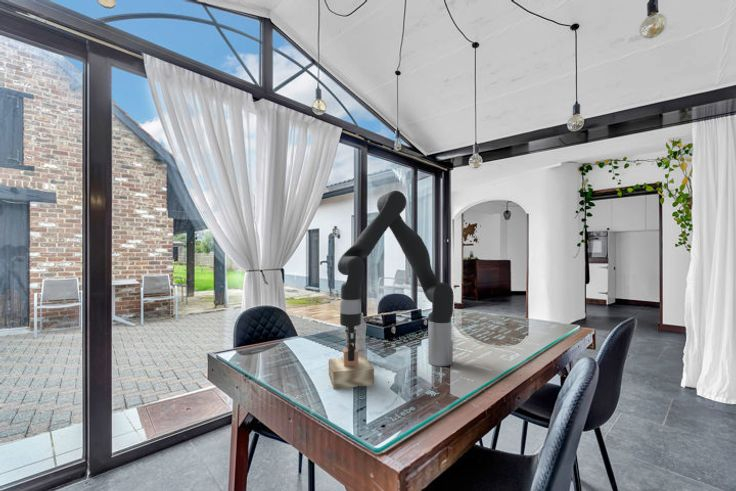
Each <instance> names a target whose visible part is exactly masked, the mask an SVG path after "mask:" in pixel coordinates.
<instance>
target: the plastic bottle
mask: <svg viewBox="0 0 736 491" xmlns="http://www.w3.org/2000/svg"><path fill="white" fill-rule="evenodd" d="M354 329H356V344H355V347H356V348H357V349H358V357H366V358H367V357H368V354H367V348H366V333H367V323H366V322H365V320H364V313H363V312H361V324H360V325H359V326H355V327H354Z"/></svg>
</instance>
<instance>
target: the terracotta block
mask: <svg viewBox="0 0 736 491" xmlns="http://www.w3.org/2000/svg"><path fill="white" fill-rule="evenodd" d="M342 352H343V354H342V355H343V356H342V358H343V363H344V366H358V349H357V348H356V349H355V354H354V361H348V349H347V347H343V351H342Z"/></svg>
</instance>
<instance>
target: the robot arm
mask: <svg viewBox="0 0 736 491" xmlns="http://www.w3.org/2000/svg"><path fill="white" fill-rule="evenodd" d="M406 198H407V197H406V196H405V195H404V193H403V192H401V191H400V190H392V191H389V192H387V193H384V194H383V195H381V196H380V197H379V198H378V199H377V202H376V207H377V210H378V212H379V213H378V214H377V215H376V216H375V218H374V219H372V221H371V222H370V223H369V224H368V225H367V226H366V227H365V228H364V229H363V230H362V232H361V233H360V234H359V236H358V238H357V239H356V240H355V242H354V244H352V246H350V247H349V248H348V249H347V250H346V251H345V252H344V253H342V255H341V257H340V258H339V260H338V262H337V271H338V272H339V273H340V274H341V275H343V276H347V277H346V282H343V283H342V284H341V288H340V305H339V306H340V307H339V310H340V312H339V313H340V314H339V317H340V318H339V324H340V326H342V327H345V329H344V334H345V335H344V336H345V337H344V340H345V343H346V348H347V349H348V361H354V354H355V349H356V347H355V344H356V329H354V327H355V326H359V325H360V324H361V313H362V301H361V287H362V283H363V280H364V274H365V267H366V266H365V263H364V260H363V259H365V258H367V257H369V256H370V254H371V253H372V251H373V250H374V248H376V246H377V244H378V242H380V239H381V238H382V237H383V235H384V233H385V232H386V231H387V229H388V228H389V229H390V231H391V232H392V234H393V235H394V238H395V239H396V241H397V243H398V245H399V246H400V248H401V250H402V253H403V254H404V257H406V260H407V262H408V263H409V265H410V266H411V269H412V270H413V272H414V274H415V275H416V277H417V279H418V281H419V283H420V286H421V288H422V291H423V293H424V295H425V297H426V299H427V300H428V302H430V303H432V311H431V312H430V313H428V317H427V320H428V321H427V325H428V326H427V329H428V330H427V331H428V332H427V333H428V334H427V338H428V339H427V340H428V342H427V345H428V346H427V351H428V352H427V354H428V355H427V360H428V364H430V365H432V366H437V367H447V366H450V365H453V364H454V363H453V360H454V353H453V350H454V349H453V348H454V346H453V345H454V342H453V340H452V316H453V313H454V296H455V295H454V290H453V288H452V287H451V285H450V284H448V283H446V282H442V281H441V282H440V281H439V279H438V278H437V276H436V274H435V272H434V271H433V268H432V264H431V258H430V253H429V252H430V251H429V250H428V248H427V246H426V244H425V243H424V240H423V239H422V238H421V236H420V235H419V234H418V233H417V231H415V230H414V229H412V228H411V227H410V226H409V225H408V224H406V222H405V221H404V219H403V218H402V216H401V214H402V212H403V211H405V209H406V206H407V199H406Z"/></svg>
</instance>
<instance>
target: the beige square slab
mask: <svg viewBox="0 0 736 491" xmlns="http://www.w3.org/2000/svg"><path fill="white" fill-rule="evenodd" d="M328 376H329V380H330V382H331V386H332V388H333V390H334V389H335V390H336V389H337V390H338V389H345V388H346V389H347V388H348V389H349V388H359V387H369V386H368V385H371V386H375V368H374V367H373V365H372V364H371V362H370V361H369V360H368V358H367V357H358V366H344V363H343V357H339V358H337V357H336V358H329V359H328ZM358 386H359V387H358Z"/></svg>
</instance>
